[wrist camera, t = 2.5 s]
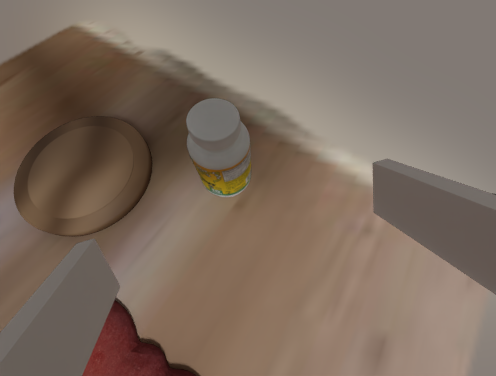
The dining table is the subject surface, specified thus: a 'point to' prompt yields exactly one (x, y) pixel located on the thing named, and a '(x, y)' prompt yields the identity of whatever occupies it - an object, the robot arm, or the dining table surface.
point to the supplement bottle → (219, 146)
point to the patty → (126, 351)
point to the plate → (83, 176)
